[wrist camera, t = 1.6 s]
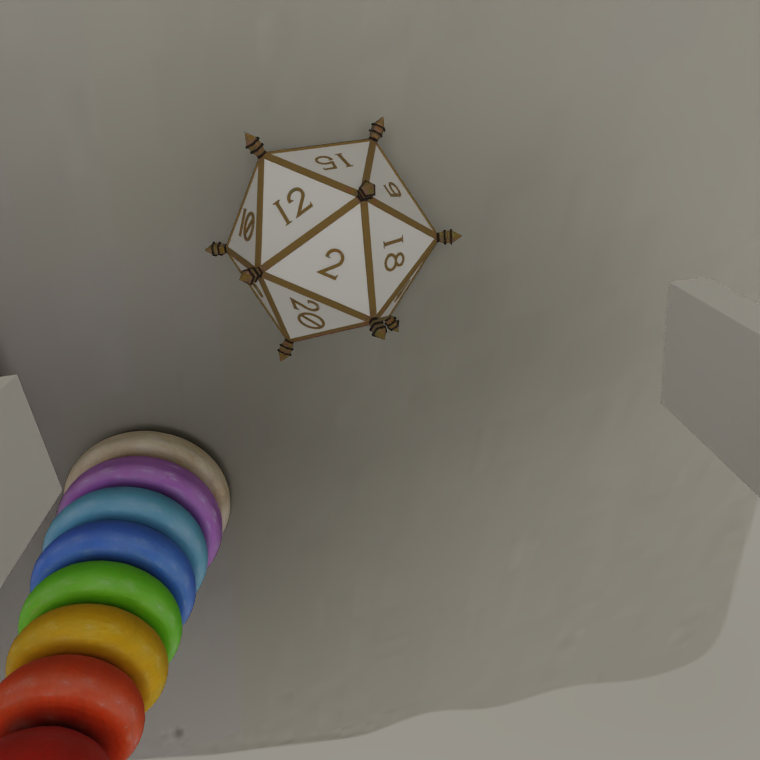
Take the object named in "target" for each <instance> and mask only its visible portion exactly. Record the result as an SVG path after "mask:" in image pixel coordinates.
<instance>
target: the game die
mask: <svg viewBox="0 0 760 760" xmlns="http://www.w3.org/2000/svg"><path fill="white" fill-rule="evenodd" d="M371 125H372V128H371V130H370V129H369V131H370V137H369V138H368V139H363V140H355V141H347V142H339V143H332V144H324V145H316V146H308V147H300V148H293V149H285V150H277V151H269V152H266V151H265V150H264V148H263V145H264V144H263V143H261V142H260V141H259V139H260V138H259V137H254V136H252V135H250V134H247V133H245V138H246V149H247V148H248V149H249V150H250V151H251V152H250V153H251V154H254V155H256V156H257V157H258V161H257V164H256V167H255V169H254V172H253V175H252V177H251V180H250V183H249V185H248V188H247V191H246V194H245V196H244V199H243V202H242V204H241V207H240V210H239V212H238V215H237V218H236V221H235V223H234V226H233V229H232V231H231V234H230V237H229V239H228V242H227V244H222V243H221V242H219V243H215V242H213V243H212V245H210V246H209V247H208V248H207V249H205V251H207V252H209V253H211V254H212V255H213V256H217V255H221V256H222V255H223V254H225V253H227V254H228V255H229V256H230V258H231V259H232V261H233V262H234V264H235V265H236V267H237V268H238V270H239V271H240V273H241V277H240V280H241V281H243V282H245V283H247V284H249V286H250V287H251V289H252V290H253V292H254V293H255V295H256V296H257V298H258V299H259V301H260V302H261V304H262V305H263V307H264V308H265V309H266V311H267V312H268V314H269V315H270V317H271V318H272V320H273V321H274V323H275V324H276V326H277V327H278V329H279V330H280V332H281V333H282V335H283V336H284V337H285V341H284V342H283V344H280V346H281V347H280V349H278V350H277V351H279V356H280V361H282V360H284V359H285V358H287V357H288V356H291V351H292V350H293V348H292V346H293V343H294V342H296V341H301V340H305V339H309V338H314V337H318V336H323V335H327V334H332V333H336V332H340V331H345V330H349V329H354V328H358V327H362V326H367V325H370V327H371V328H370V329H369V330H370V331H372V333H373V334H372V336H375V337H378V338H381V339H383V340H385V335H386V333H387V329H386V326H384V325H383V321H384V320H385V325H387V326H388V327H387V328H388V329H389V330H391V331H392V330H394V331H397V332H399V331H398V326H399V320H396V317H393V316H391V314H392V313H393V311H394V309H395V308H396V306H397V305H398V303H399V302H400V300H401V298H402V297H403V295H404V294H405V292H406V291H407V289H408V287H409V286H410V284H411V283H412V281H413V280H414V278H415V276H416V275H417V273H418V272H419V270H420V269H421V267H422V265H423V264H424V262H425V261H426V259H427V257H428V256H429V254H430V253H431V251H432V250H433V248H434V246H435V245H436V243H437V242H442V243H444V244H446V243H451V245H452V243H453V242H454V241H456V240H457V239H458V238H460V237H461V236H462V235H460V234H458V233H456V232H454V231H452V229H450V231H445V230H444V231H443V232H440V233H436V231H435V229H434V228H433V226H432V225H431V223H430V222H429V220H428V219H427V217H426V216H425V214H424V213H423V211H422V210H421V208H420V207H419V205H418V204H417V202H416V201H415V199H414V198H413V196H412V195H411V193H410V192H409V190H408V189H407V187H406V186H405V184H404V183H403V181H402V180H401V178H400V177H399V175H398V174H397V172H396V171H395V169H394V168H393V166H392V165H391V163H390V162H389V160H388V159H387V157H386V155H385V154H384V152H383V151H382V149H381V148H380V146H379V145H378V143H377V142H378V140H379V139H380V137H382V134H383V131H385V128H384V120H383V117H382V118H380V119H379V120H378V121H376V122H375V123H372V124H371Z"/></svg>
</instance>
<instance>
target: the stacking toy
mask: <svg viewBox="0 0 760 760" xmlns="http://www.w3.org/2000/svg"><path fill="white" fill-rule="evenodd" d="M229 515H230V493H229V488H228V485H227V482H226V479H225V477H224V475H223V473H222V471H221V469H220V468H219V466H218V465H217V464H216V462H215V461H214V460H213V459H212V458H211V457H210V456H209V455H208V454H207V453H206V452H205V451H203V450H202V449H201V448H199V447H198V446H196V445H194V444H193V443H191V442H189V441H187V440H185V439H183V438H180V437H177V436H174V435H171V434H167V433H161V432H156V431H132V432H127V433H122V434H118V435H115V436H112V437H109V438H107V439H104V440H102V441H100V442H99V443H97V444H95V445H94V446H92V447H91V448H90V449H88V450H87V451H86V452H85V453H84V454H83V455H82V456H81V457H80V458H79V459H78V460H77V461H76V463H75V464H74V466H73V467H72V469H71V471H70V473H69V475H68V477H67V480H66V483H65V487H64V495H63V497H62V499H61V501H60V504H59V507H58V511H57V516H56V518H55V519H54V520H53V522H52V523H51V525H50V527H49V529H48V531H47V533H46V536H45V539H44V543H43V549H42V553H41V555H40V556H39V558H38V559H37V561H36V563H35V566H34V569H33V572H32V576H31V581H30V594H29V596H28V598H27V599H26V601H25V603H24V605H23V608H22V610H21V613H20V617H19V623H18V634H19V635H18V636H17V637H16V638H15V640H14V642H13V643H12V646H11V648H10V650H9V653H8V656H7V661H6V678H5V679H4V680H3V681H2V682H1V683H0V760H126V759H127V758H128V757H129V756H130V755H131V754H132V753H133V751H134V750H135V748H136V746H137V745H138V743H139V741H140V738H141V735H142V732H143V728H144V722H145V712H146V711H147V710H148V709H149V708H150V707H151V706H152V705H153V704H154V703H155V702H156V701H157V699H158V698H159V696H160V694H161V693H162V691H163V688H164V686H165V683H166V679H167V675H168V664H169V663H170V661H171V660H172V658H173V657H174V655H175V653H176V651H177V649H178V646H179V643H180V640H181V635H182V626H183V625H184V623H185V622H186V621H187V619H188V617H189V615H190V613H191V611H192V608H193V605H194V601H195V596H196V592H197V591H198V589H199V587H200V586H201V584H202V581H203V579H204V577H205V574H206V570H207V568H208V566H209V565H210V564H211V562H212V561H213V559H214V558H215V556H216V554H217V552H218V550H219V547H220V543H221V539H222V534H223V532H224V530H225V528H226V525H227V522H228V519H229Z"/></svg>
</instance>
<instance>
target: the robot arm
mask: <svg viewBox="0 0 760 760" xmlns="http://www.w3.org/2000/svg"><path fill="white" fill-rule="evenodd" d="M661 404H662V405H663V406H664V407H666V408H667V409H668V410H669V411H670V412H671V413H672V414H673V415H674V416H675V417H676V418H677V419H678V420H679V421H680V422H681V423H682V424H683V425H684V426H685V427H687V428H688V429H689V430H690V431H691V432H692V433H693V434H694V435H695V436H696V437H697V438H698V439H699V440H700V441H701V442H702V443H703V444H704V445H705V446H706V447H708V448H709V449H710V450H711V451H712V452H713V453H714V454H715V455H716V456H717V457H718V458H719V459H720V460H721V461H722V462H723V463H724V464H725V465H726V466H727V467H728V468H730V469H731V470H732V471H733V472H734V473H735V474H736V475H737V476H738V477H739V478H740V479H741V480H742V481H743V482H744V483H745V484H746V485H747V486H748V487H749V488H751V489H752V490H753V491H754V492H755V493H756V494H757V495H758V496H759V497H760V304H759V303H757V302H755V301H753V300H751V299H749V298H747V297H745V296H743V295H741V294H739V293H737V292H735V291H733V290H731V289H729V288H727V287H725V286H723V285H721V284H719V283H718V282H716V281H714V280H712V279H710V278H708V277H700V278H693V279H686V280H679V281H672V282H669V287H668V302H667V316H666V331H665V345H664V360H663V375H662V389H661ZM61 492H62V488H61V485H60V483H59V480H58V478H57V475H56V473H55V470H54V468H53V465H52V463H51V460H50V457H49V455H48V452H47V450H46V447H45V445H44V442H43V440H42V437H41V435H40V432H39V429H38V427H37V424H36V422H35V419H34V417H33V414H32V412H31V409H30V406H29V404H28V401H27V399H26V396H25V394H24V391H23V389H22V386H21V384H20V381H19V378H18V376H17V375H10V376H3V377H0V588H1V586H2V585H3V583H4V581H5V580H6V578H7V577H8V575H9V574H10V572H11V570H12V569H13V567H14V566H15V564H16V563H17V561H18V559H19V558H20V556H21V555H22V553H23V552H24V550H25V548H26V547H27V545H28V544H29V542H30V540H31V539H32V537H33V536H34V534H35V533H36V531H37V529H38V528H39V526H40V525H41V523H42V522H43V520H44V518H45V517H46V515H47V514H48V512H49V510H50V509H51V507H52V506H53V504H54V503H55V501H56V499H57V498H58V496H59V495H60V493H61Z"/></svg>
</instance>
